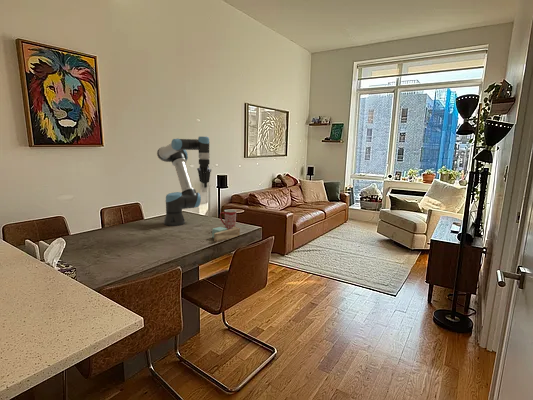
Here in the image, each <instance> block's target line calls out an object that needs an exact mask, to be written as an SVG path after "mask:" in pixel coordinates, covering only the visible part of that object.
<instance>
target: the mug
mask: <svg viewBox="0 0 533 400" xmlns="http://www.w3.org/2000/svg"><path fill="white" fill-rule="evenodd" d="M237 212H238V211H237V210H236V209H224V212H223V211H221V212H220V214H219V219H220V221H221V222H222V224H223V225H224V228H227V230H229V229H232V227H236V224H237ZM222 214H223V215H224V220H223V218H222Z"/></svg>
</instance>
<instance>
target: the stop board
mask: <svg viewBox="0 0 533 400" xmlns="http://www.w3.org/2000/svg"><path fill="white" fill-rule="evenodd" d="M240 234H241V230H240V228H239V227H236V226H235V227H232V229H229V230H225V231H221V232H218V233H214V238H213V242H216V243H218V242H222V240H223V241H226V240H228V239H232V238H235V237H238V236H240Z"/></svg>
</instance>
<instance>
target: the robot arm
mask: <svg viewBox="0 0 533 400" xmlns="http://www.w3.org/2000/svg"><path fill="white" fill-rule="evenodd" d="M187 151H198V165H199V167H198V168H196V170H197V173H198V181H199V182H201V189H202V191H201V192H202V193H206V192H207V189H208V188H207V187H208V183H209V182H210V178H211V172H212V169H211V168H210V137H209V136H198V138H197V139H196V138H195V139H194V138H190V139H189V138H173V139H172V140H171V143H170V144H168V145H165V146H161V147H160V148H158V150H157V152H156V155H157V158H158V159H159V160H160V161H162V162H165V163H171V164H172V165H171V166H173V167H175V171H176V174H177V178H178V181H179V184H180V189H181V191H175V192H174V191H173V192H171V193H168V194H166V195H165V213H166V214H165V217H164V220H163V224H164V225H166V226H170V227H171V226H172V227H173V226H175V227H176V226H182V225H184V224H185V223H186V221H185V217H184V215H183V210H185V209H195V208H198V207H199V206H200V204H201V201H202V199H201V198H202V196H201V194H200V192H197V190H196V189H195V188H194V187H193V185H192V181H191V178H190V174H189V171H188V168H187V164H186V163H187V161H188V152H187Z"/></svg>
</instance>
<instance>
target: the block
mask: <svg viewBox="0 0 533 400" xmlns="http://www.w3.org/2000/svg"><path fill="white" fill-rule="evenodd" d="M225 230H227V228H225V227H223V226H219V227H214V228H212V229H211V233H212V234H211V235H212V236H211V237H212V239H214V233H218V232H221V231H225Z"/></svg>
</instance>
